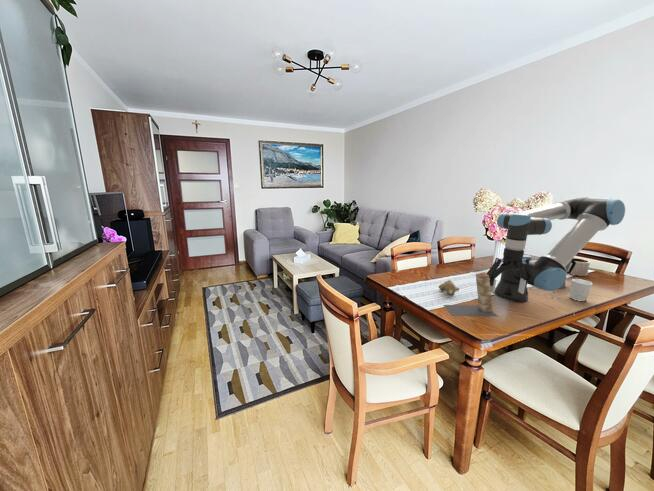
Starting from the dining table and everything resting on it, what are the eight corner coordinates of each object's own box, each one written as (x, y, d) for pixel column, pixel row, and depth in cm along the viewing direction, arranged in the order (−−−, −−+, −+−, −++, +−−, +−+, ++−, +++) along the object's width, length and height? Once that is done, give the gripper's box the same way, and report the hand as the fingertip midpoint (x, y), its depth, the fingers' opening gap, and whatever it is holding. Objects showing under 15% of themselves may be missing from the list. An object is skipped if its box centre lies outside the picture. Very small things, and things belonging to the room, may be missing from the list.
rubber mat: (485, 306, 136) (485, 305, 136) (498, 317, 126) (498, 316, 125) (443, 305, 137) (443, 304, 137) (452, 316, 126) (452, 315, 126)
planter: (567, 270, 190) (570, 256, 188) (588, 274, 182) (591, 260, 180) (563, 273, 184) (566, 259, 181) (585, 278, 175) (588, 263, 173)
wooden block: (487, 306, 133) (484, 272, 128) (492, 310, 129) (489, 275, 125) (479, 308, 133) (475, 274, 129) (483, 312, 129) (480, 277, 125)
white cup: (573, 295, 150) (577, 277, 147) (591, 301, 142) (595, 283, 140) (564, 297, 147) (568, 279, 144) (581, 303, 140) (586, 285, 137)
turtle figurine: (451, 279, 155) (459, 281, 143) (455, 291, 155) (464, 294, 143) (437, 283, 156) (444, 285, 144) (440, 295, 155) (448, 298, 143)
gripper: (536, 246, 127) (527, 289, 132) (481, 245, 127) (475, 288, 132) (548, 251, 119) (538, 296, 125) (491, 250, 120) (483, 295, 125)
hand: (506, 292), depth 128 cm, fingers open, 13 cm apart
